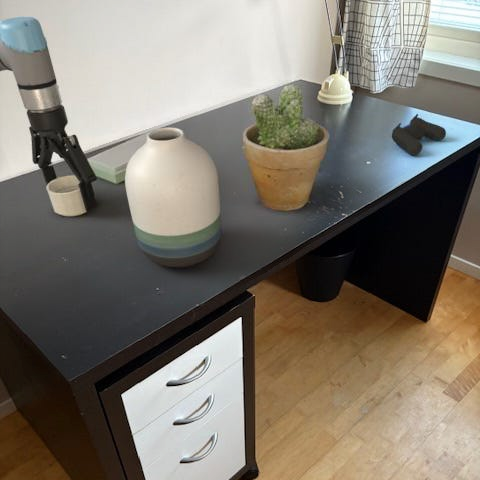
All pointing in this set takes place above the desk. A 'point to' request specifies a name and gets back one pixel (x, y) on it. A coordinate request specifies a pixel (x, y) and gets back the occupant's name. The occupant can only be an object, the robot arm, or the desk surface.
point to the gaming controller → (416, 134)
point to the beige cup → (66, 196)
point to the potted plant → (283, 150)
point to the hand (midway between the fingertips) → (73, 201)
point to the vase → (174, 199)
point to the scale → (116, 159)
